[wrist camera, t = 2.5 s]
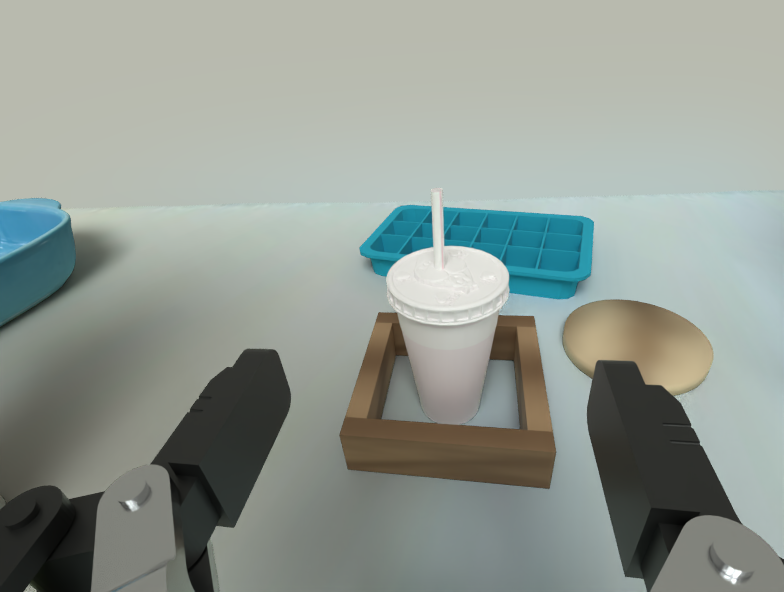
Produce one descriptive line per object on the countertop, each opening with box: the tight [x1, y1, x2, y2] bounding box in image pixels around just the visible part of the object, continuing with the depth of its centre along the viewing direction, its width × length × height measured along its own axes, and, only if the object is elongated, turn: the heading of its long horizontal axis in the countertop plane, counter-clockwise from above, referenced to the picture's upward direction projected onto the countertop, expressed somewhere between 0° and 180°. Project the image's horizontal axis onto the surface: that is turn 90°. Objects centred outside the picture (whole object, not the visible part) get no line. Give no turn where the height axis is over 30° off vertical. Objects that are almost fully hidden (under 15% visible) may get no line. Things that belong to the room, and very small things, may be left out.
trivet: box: [563, 300, 713, 396], centre depth 30 cm, size 9×9×1 cm
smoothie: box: [386, 188, 510, 425], centre depth 24 cm, size 6×6×14 cm
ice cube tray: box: [360, 205, 594, 299], centre depth 42 cm, size 12×20×3 cm, turn 68°
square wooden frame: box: [340, 312, 556, 489], centre depth 27 cm, size 11×11×3 cm
